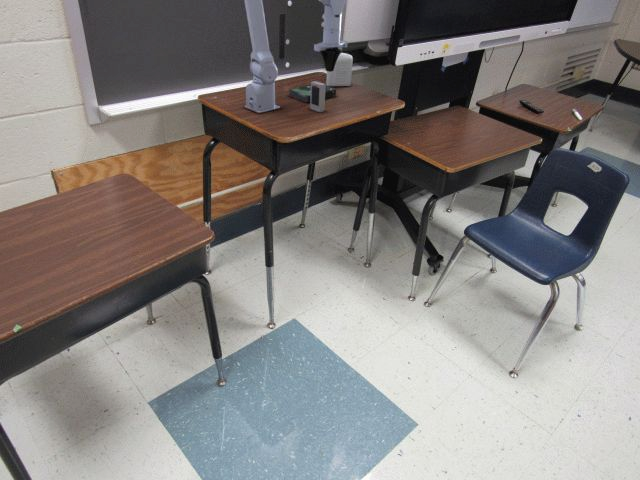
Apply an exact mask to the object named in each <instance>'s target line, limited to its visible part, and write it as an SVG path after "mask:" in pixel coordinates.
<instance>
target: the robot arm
mask: <svg viewBox="0 0 640 480" xmlns="http://www.w3.org/2000/svg"><path fill="white" fill-rule="evenodd" d="M243 1H244V7H245V12H246V18H247V25H248V29H249V37H250V43H251V48H252V52H251V53H250V62H249V71H250V72H251V74H252V75H253V77H252V82H250V83H248V84H247V85H246V87H245V106H244V108H245V109H248V110H250V111H252V112H255V113H258V114H262V113H266V112H270V111H274V110H279V109H281V106H280V105H277V104H276V79H277V78H278V75H279V69H278V67H277V65H276V63H275V60H274V56H273V55H272V53H271V50H270V43H269V38H268V32H267V23H266V18H265V17H266V16H265V11H264V3H263V0H243ZM317 1H318V2H320V3H322V5H323V6H324V13H323V14H324V15H323V33H322V41H321V42H319V43H316V44H314V45H313V51H314V52H320V54H321V57H322V59H323V63H324V67H325V71H326V72H327V71H329V72H331V71H333V70H334V67H335V64H336V61H337V59H338V57H339V55H340V54H341V53H342V49H341V48H348V40H341V30H342V29H341V28H342V15H343V9H344V7H345V6H346V3H347V0H317Z"/></svg>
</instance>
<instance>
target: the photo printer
mask: <svg viewBox="0 0 640 480" xmlns="http://www.w3.org/2000/svg"><path fill="white" fill-rule="evenodd" d="M353 61H354V59H353V55H351V54H349V53H346V52H341V54H340V55H339V57H338V59H337V61H336V64H335V67H334V70H333V71H331V72H329V71H326V81H325V83H326V86H328V87H350V86H351V84H352V82H351V81H352V74H353V73H352V72H353V64H354V63H353Z"/></svg>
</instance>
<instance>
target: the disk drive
mask: <svg viewBox="0 0 640 480" xmlns="http://www.w3.org/2000/svg"><path fill="white" fill-rule="evenodd" d="M288 96H289V97H291V98H293V99H297V100H300V101H302V102H305V103H310V97H311V84H307V85H302V86H298V87H293V88H289V90H288ZM335 96H337V89H336V88H335V87H332V86H327V85H326V89H325V99H328V98H332V97H335Z"/></svg>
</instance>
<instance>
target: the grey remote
mask: <svg viewBox="0 0 640 480" xmlns="http://www.w3.org/2000/svg"><path fill="white" fill-rule="evenodd" d="M310 85H311V97H310V102H309V109H310V110H312V111H315V112H318V113H322V112H325V106H326V105H325V104H326V98H325V89H326V86H327V85H326V84H325V83H323V82H320V81H317V80H315V81H310Z"/></svg>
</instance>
